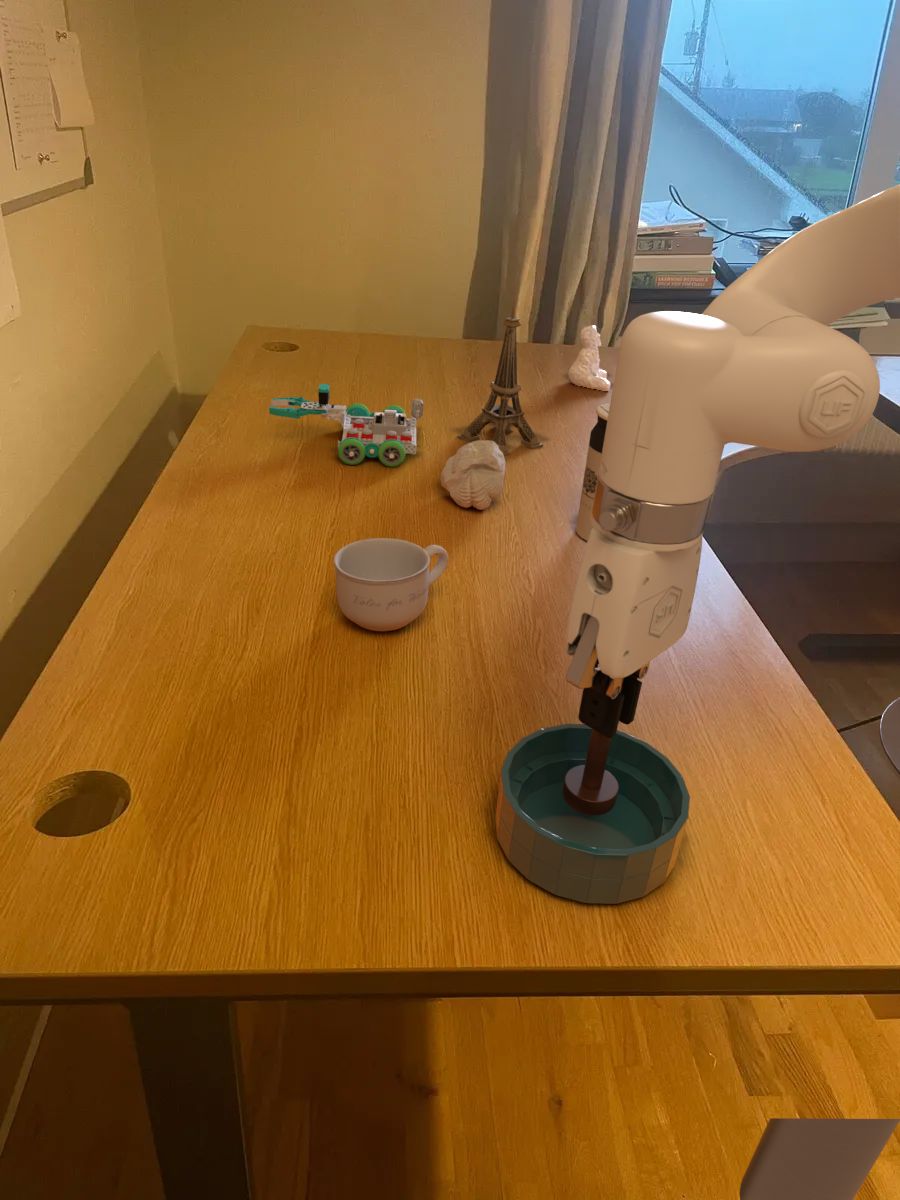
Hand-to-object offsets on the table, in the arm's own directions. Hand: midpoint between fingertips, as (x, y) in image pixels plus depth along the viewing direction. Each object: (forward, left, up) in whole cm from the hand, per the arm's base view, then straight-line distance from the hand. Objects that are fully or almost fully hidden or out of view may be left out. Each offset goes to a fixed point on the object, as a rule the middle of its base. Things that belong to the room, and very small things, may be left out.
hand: (605, 720), depth 69 cm
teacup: (+17, -34, -13) cm, 40 cm away
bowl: (0, 0, -13) cm, 13 cm away
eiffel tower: (0, -91, -13) cm, 92 cm away
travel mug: (-12, -57, -13) cm, 60 cm away
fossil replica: (+6, -67, -13) cm, 69 cm away
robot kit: (+26, -86, -13) cm, 91 cm away
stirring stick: (0, 0, -8) cm, 8 cm away
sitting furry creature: (-21, -126, -13) cm, 128 cm away
